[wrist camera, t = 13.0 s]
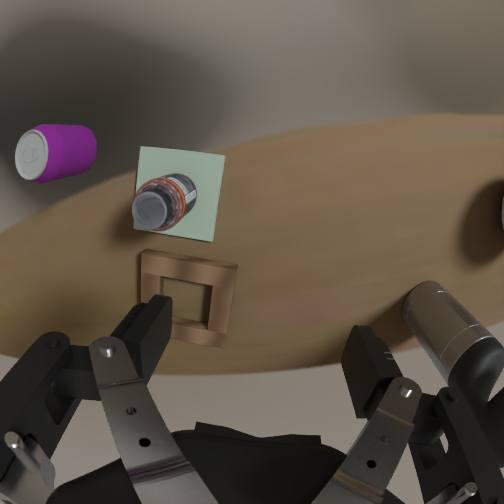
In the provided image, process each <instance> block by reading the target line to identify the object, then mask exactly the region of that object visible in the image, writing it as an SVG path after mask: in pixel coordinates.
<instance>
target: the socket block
mask: <svg viewBox="0 0 504 504" xmlns="http://www.w3.org/2000/svg"><path fill="white" fill-rule="evenodd" d="M237 266H238V265H237V264H231V263H225V262H219V261H213V260H207V259H202V258H196V257H190V256H185V255H179V254H173V253H168V252H162V251H156V250H151V249H145V250H144V251H143V252H142V253H141V303H142V302H143V303H148V302H149V301H150V300H151V298H152V297H153V296H154V294H159V295H163V276H164V277H169V278H174V279H179V280H185V281H190V282H196V283H201V284H207V285H212V286H213V289H212V297H211V305H210V314H209V322H208V323H204V322H199V321H194V320H189V319H184V318H179V317H174V316H172V332H171V336H170V338H173V339H178V340H183V341H188V342H193V343H198V344H203V345H209V346H214V347H220V348H224V347H225V341H226V335H227V328H228V322H229V316H230V310H231V303H232V297H233V291H234V285H235V279H236V272H237Z"/></svg>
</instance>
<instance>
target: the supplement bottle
mask: <svg viewBox="0 0 504 504" xmlns="http://www.w3.org/2000/svg"><path fill="white" fill-rule="evenodd" d="M196 200H197V190H196V186H195V184H194V183H193V181H192V180H191V179H190V178H189V177H187V176H185V175H183V174H179V173H173V174H168V175H165V176H161V177H158V178H155V179H152V180H149V181H147V182H146V183H144V184H143V185H142V186H141V187H140V188H139V189H138V191H137V192H136V194H135V197H134V201H133V204H132V216H133V218H134V220H135V222H136V223H137V224H138V225H139V226H140V227H142V228H144V229H148V230H153V231H165V230H168V229H170V228H172V227H174V226H175V225H176V224H177V223H178V222H179V221H180V220H181V219H182V218H183V217H184V216H185V215H187V214H188V213H189V212H190V211H191V210H192V208H193V207H194V205H195V203H196Z"/></svg>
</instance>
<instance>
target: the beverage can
mask: <svg viewBox="0 0 504 504" xmlns="http://www.w3.org/2000/svg"><path fill="white" fill-rule="evenodd" d="M96 151H97V144H96V139H95V137H94V134H93V133H92V132H91V130H90V129H88V128H86V127H84V126H80V125H53V124H44V125H39V126H37V127H35V128H33V129H32V130H30V131H28V132H26V133H25V134H24V135H23V136H22V137H21V138H20V140H19V142H18V144H17V147H16V151H15V162H16V168H17V170H18V172H19V174H20V175H21V177H23V178H24V179H26V180H30V181H33V182H36V183H44V182H48V181H52V180H56V179H61V178H65V177H69V176H74V175H77V174H81V173H83V172H85V171H86V170H87V169H89V168H90V166H91V165H92V163H93V162H94V159H95V156H96Z"/></svg>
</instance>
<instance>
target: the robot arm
mask: <svg viewBox="0 0 504 504" xmlns="http://www.w3.org/2000/svg"><path fill="white" fill-rule="evenodd" d="M172 303H173V301H172V297H168V296H164V295H159V294H154V296H153V297H152V298H151V300H150V301H149V302H148V303H143V302H142V303H140V304H138V305H136V306H134V307H133V308H132V309H131V310H130V311H129V313H128V315H126V316H125V318H124V320H122V321H121V323H120V324H119V325H118V326H117V327H116V329H115V330H114V331H113V333H112V334H111V335H110V336H104V337H100V338H97V339H95V340H93V341H92V342H91V344H90V346H78V345H70V340H69V338H68V336H67V335H66V334H64V333H62V332H55V331H53V332H48V333H45V334H43V335H41V336H40V337H39V338H38V339H37V340H36V341H35V342H34V344H33V345H32V346H31V347H30V348H29V349H28V350H27V351H26V352H25V353H24V355H23V356H22V357H21V358H20V359H19V360H18V362H17V363H16V364H15V365H14V366H13V367H12V368H11V370H10V371H9V372H8V373H7V374H6V376H5V377H4V378H3V379H2V380H1V382H0V499H1V500H2V501H3V502H4V503H5V504H405V503H403V502H402V501H401V500H400V499H398V498H397V497H396V496H395V495H394V494H392V493H391V492H390V491H388V490H387V489H386V488H387V486H388V484H389V482H390V480H391V478H392V476H393V474H394V472H395V470H396V468H397V466H398V464H399V461H400V459H401V457H402V455H403V452H404V450H405V448H406V445H407V443H408V444H409V448H410V451H411V455H412V458H413V462H414V465H415V469H416V472H417V476H418V480H419V484H420V488H421V492H422V496H423V500H424V504H504V478H503V475H502V473H501V471H500V468H503V467H504V387H503V388H502V390H500V391H499V392H498V393H497V394H496V395H495V396H494V397H493V398H492V399H491V400H490V401H488V399H489V396H490V393H491V391H492V388H493V386H494V385H495V383H496V381H497V379H498V377H499V376H500V374H501V372H502V369H503V367H504V348H503V346H502V345H501V344H500V343H499V342H498V340H497V339H496V338H495V337H494V336H493V335H492V334H491V333H490V332H489V331H488V330H487V329H486V328H485V327H484V326H483V325H482V324H481V323H480V322H479V321H478V320H477V319H476V318H475V317H474V316H473V315H472V314H471V313H470V312H469V311H468V310H467V309H466V308H465V307H464V306H463V305H462V304H461V303H459V302H458V301H457V300H456V299H455V298H454V297H453V296H452V295H451V294H450V293H449V292H448V291H447V290H446V289H444V288H443V287H442V286H441V285H440V284H439V283H437V282H434V281H428V282H424V283H422V284H420V285H418V286H417V287H416V288H414V289H413V290H412V291H411V292H410V293H409V295H408V296H407V298H406V300H405V302H404V305H403V308H402V317H403V319H404V321H405V323H406V324H407V325H408V327H409V328H410V330H411V331H412V332H413V334H414V335H415V337H416V338H417V340H418V341H419V343H420V344H421V346H422V347H423V348H424V350H425V351H426V353H427V354H428V356H429V357H430V359H431V360H432V362H433V363H434V365H435V366H436V368H437V369H438V371H439V372H440V374H441V375H442V377H443V378H444V380H445V382H446V383H447V385H448V386H449V387H443V388H441V389H440V391H439V392H438V394H437V395H436V396H435V395H430V394H425V393H422V390H421V388H420V386H419V385H418V384H417V383H416V382H415V381H413V380H411V379H409V378H405V377H403V375H402V373H401V371H400V369H399V367H398V365H397V363H396V362H395V360H394V358H393V356H392V354H390V350H389V348H388V346H387V345H386V344H385V343H384V342H383V341H382V340H381V339H380V338H376V336H375V334H374V332H373V330H372V328H371V327H368V326H358V325H355V326H353V328H352V330H351V333H350V335H349V338H348V341H347V343H346V346H345V349H344V351H343V354H342V360H341V364H342V368H343V372H344V375H345V378H346V382H347V385H348V389H349V392H350V396H351V399H352V403H353V407H354V410H355V414H356V418H367V420H368V422H367V423H366V425H365V427H364V428H363V430H362V431H361V433H360V434H359V436H358V437H357V439H356V440H355V442H354V443H353V445H352V447H351V448H350V449H349V451H348V452H347V454H344V453H343V452H341V451H339V450H337V449H335V448H333V447H330V446H327V445H324V444H321V438H320V436H319V435H296V434H289V435H281V436H274V437H264V438H259V437H255V436H252V435H248V434H246V433H242V432H240V431H236V430H234V429H231V428H228V427H223V426H217V425H212V424H206V423H201V422H196V426H195V429H194V430H181V431H176V432H173V433H170V431H169V430H168V428H167V427H166V424H165V423H164V420H163V418H162V416H161V414H160V413H159V411H158V409H157V407H156V405H155V403H154V400H153V399H152V396H151V394H150V392H149V390H148V388H147V384H148V382H149V380H150V378H151V376H152V374H153V372H154V370H155V368H156V366H157V364H158V362H159V360H160V358H161V356H162V354H163V352H164V350H165V348H166V346H167V344H168V342H169V339H170V336H171V332H172ZM82 399H85V400H96V401H102V404H103V408H104V411H105V414H106V417H107V421H108V423H109V426H110V429H111V432H112V435H113V438H114V441H115V443H116V446H117V449H118V451H119V454H120V457H121V458H119V459H118V460H115V461H114V462H111V463H109V464H107V465H105V466H103V467H101V468H99V469H97V470H94V471H92V472H90V473H87V474H85V475H83V476H81V477H78V478H76V479H74V480H71V481H69V482H66V483H64V484H62V485H60V486H59V487H57V488H56V489H54V479H55V468H54V466H53V464H52V462H51V461H50V459H51V457H52V455H53V453H54V451H55V449H56V447H57V445H58V443H59V441H60V439H61V437H62V435H63V433H64V431H65V429H66V428H67V426H68V424H69V422H70V420H71V418H72V416H73V415H74V413H75V411H76V409H77V407H78V406H79V404H80V402H81V400H82ZM443 433H445V436H446V438H447V440H448V445H449V446H448V451H447V453H445V451H444V448H443V445H442V443H441V440H440V437H441V436H442V434H443Z"/></svg>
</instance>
